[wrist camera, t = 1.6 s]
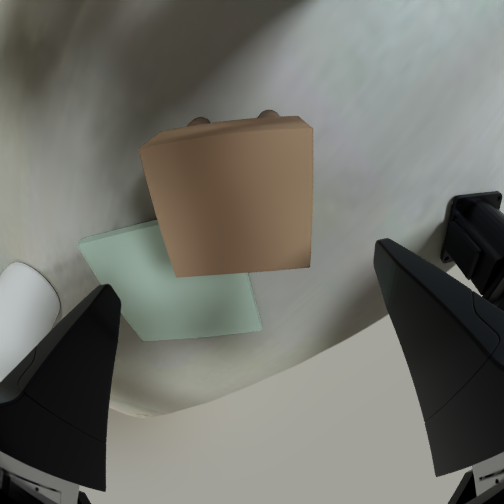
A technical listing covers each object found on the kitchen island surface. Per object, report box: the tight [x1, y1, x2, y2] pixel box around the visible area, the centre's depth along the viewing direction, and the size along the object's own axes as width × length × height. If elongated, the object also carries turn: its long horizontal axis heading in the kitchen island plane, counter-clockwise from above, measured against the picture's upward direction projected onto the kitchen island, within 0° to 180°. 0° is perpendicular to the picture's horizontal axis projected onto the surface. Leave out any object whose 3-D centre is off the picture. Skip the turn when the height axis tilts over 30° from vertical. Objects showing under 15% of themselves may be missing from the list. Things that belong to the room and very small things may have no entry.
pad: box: [77, 220, 262, 341], centre depth 21 cm, size 12×12×1 cm
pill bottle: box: [0, 262, 60, 382], centre depth 16 cm, size 8×8×15 cm
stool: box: [139, 110, 313, 278], centre depth 12 cm, size 6×6×7 cm
